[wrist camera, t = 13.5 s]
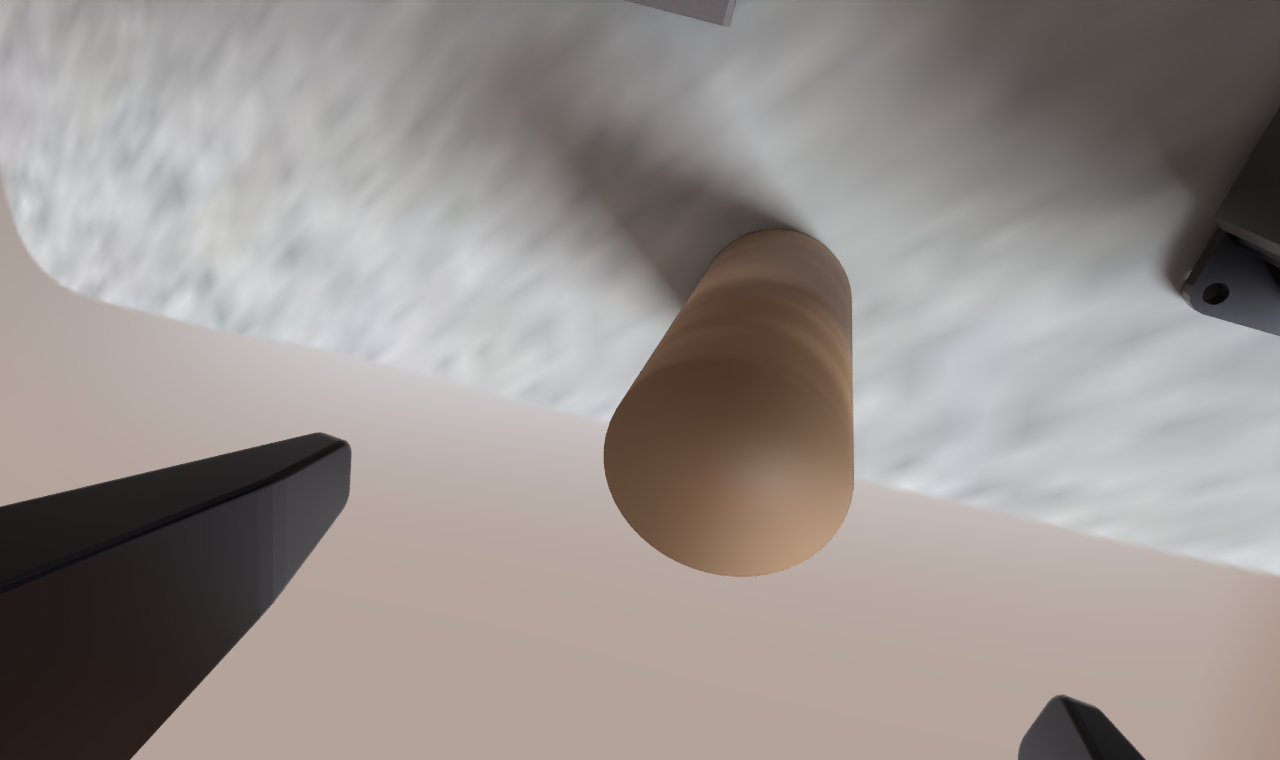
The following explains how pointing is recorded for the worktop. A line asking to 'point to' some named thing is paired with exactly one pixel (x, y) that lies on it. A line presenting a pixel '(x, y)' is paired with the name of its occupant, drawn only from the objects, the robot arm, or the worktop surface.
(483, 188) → the worktop surface
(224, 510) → the robot arm
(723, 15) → the white mini table
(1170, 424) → the worktop surface
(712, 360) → the walnut cylinder
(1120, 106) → the worktop surface
